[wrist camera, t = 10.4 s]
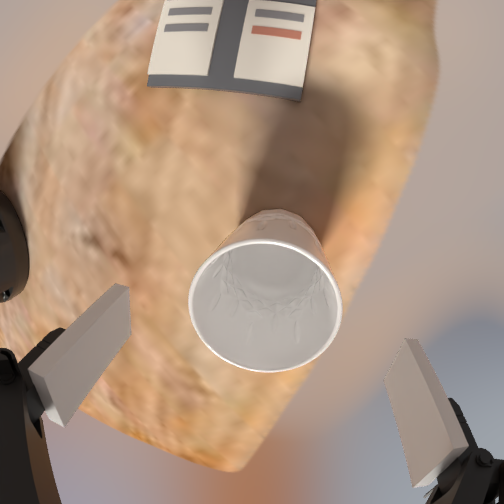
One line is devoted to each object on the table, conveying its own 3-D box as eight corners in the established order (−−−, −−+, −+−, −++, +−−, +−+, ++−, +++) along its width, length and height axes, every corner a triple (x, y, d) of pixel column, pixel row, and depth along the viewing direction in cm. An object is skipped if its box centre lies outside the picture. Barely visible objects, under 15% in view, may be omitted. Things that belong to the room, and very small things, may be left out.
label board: (151, 87, 21) (144, 85, 20) (172, -4, 18) (167, -9, 17) (300, 101, 20) (300, 99, 19) (316, 3, 17) (316, -3, 16)
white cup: (259, 308, 26) (241, 388, 17) (208, 232, 25) (159, 285, 15) (341, 267, 24) (365, 338, 15) (293, 181, 22) (293, 207, 13)
